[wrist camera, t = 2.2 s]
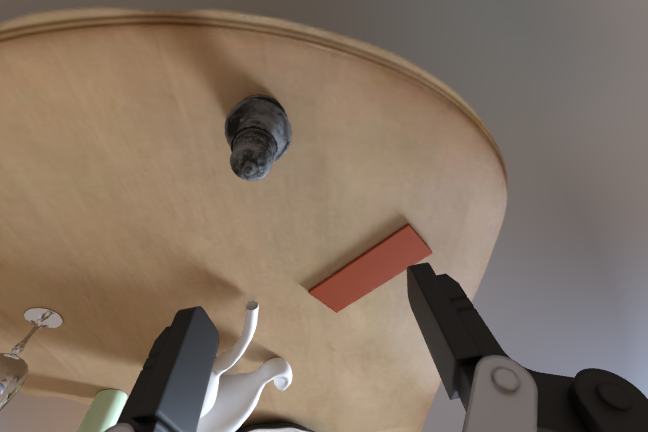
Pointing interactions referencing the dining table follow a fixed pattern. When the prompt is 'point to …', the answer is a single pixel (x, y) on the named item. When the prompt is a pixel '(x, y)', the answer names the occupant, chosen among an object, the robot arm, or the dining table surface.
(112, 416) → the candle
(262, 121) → the chess piece
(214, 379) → the stomach
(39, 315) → the wineglass
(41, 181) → the dining table surface
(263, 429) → the plate
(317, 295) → the rectangular block
